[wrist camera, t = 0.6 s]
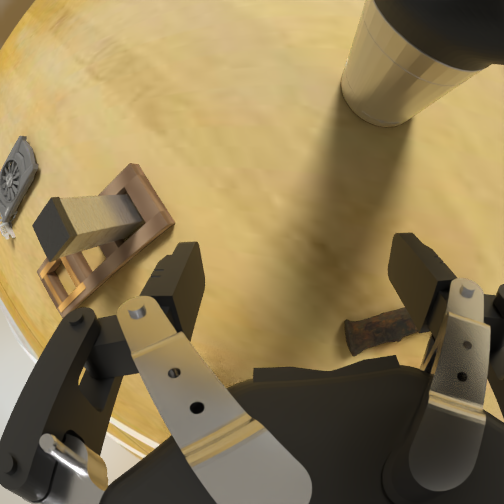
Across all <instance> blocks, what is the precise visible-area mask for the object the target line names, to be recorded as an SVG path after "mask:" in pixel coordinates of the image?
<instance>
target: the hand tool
mask: <svg viewBox="0 0 504 504" xmlns="http://www.w3.org/2000/svg"><path fill="white" fill-rule="evenodd" d="M416 332H418V330H417V328H416V326H415V324H414V322H413V321H412V319H411V317H410V315H409V313H408V311H407V310H406V308H405V307H404V308H401V309H398V310H394V311H390V312H386V313H382V314H380V315H377V316H374V317H371V318H368V319H364V320H361V321H356V322H351V321H349V320H345V335H346V342H347V344H348V347H349V350H350V352H351V354H352V356H356V355H357V354H359V353H361V352H362V351H363V350H365V349H367V348H370V347H374V346H377V345H380V344H382V343H386V342H395V341H397V342H399V341H400V340H401V339H402V338H403V337H405V336H408V335H410V334H413V333H416Z"/></svg>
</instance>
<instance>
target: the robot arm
mask: <svg viewBox="0 0 504 504" xmlns="http://www.w3.org/2000/svg"><path fill="white" fill-rule="evenodd" d="M491 64H501V65H504V0H366V1H365V5H364V8H363V11H362V15H361V18H360V21H359V25H358V28H357V31H356V34H355V37H354V41H353V44H352V47H351V50H350V53H349V56H348V59H347V62H346V65H345V68H344V71H343V74H342V79H341V88H342V93H343V96H344V99H345V100H346V102H347V104H348V106H349V107H350V108H351V109H352V110H353V112H354V113H356V114H357V115H358V116H359V117H360V118H362V119H363V120H365V121H367V122H368V123H371V124H374V125H376V126H382V127H394V126H398V125H400V124H402V123H404V122H406V121H407V120H409V119H410V118H412V117H413V116H415V115H416V114H418V113H419V112H421V111H422V110H424V109H425V108H426V107H428V106H429V105H431V104H432V103H434V102H435V101H437V100H438V99H440V98H441V97H443V96H444V95H446V94H447V93H448V92H450V91H451V90H453V89H454V88H456V87H457V86H459V85H460V84H462V83H463V82H465V81H466V80H468V79H469V78H471V77H472V76H474V75H475V74H477V73H478V72H480V71H481V70H483V69H484V68H486V67H488V66H489V65H491ZM388 276H389V280H390V282H391V283H392V285H393V287H394V288H395V290H396V292H397V294H398V295H399V297H400V299H401V301H402V302H403V304H404V306H405V308H406V310H407V311H408V313H409V315H410V317H411V319H412V321H413V322H414V324H415V326H416V328H417V330H418V332H419V333H424V332H429V331H431V333H432V334H431V337H430V339H429V341H428V345H427V348H426V351H425V354H424V358H423V361H422V364H421V366H420V369H418V368H414V367H410V366H404V365H399V362H398V360H397V357H396V355H393V356H387V357H380V358H373V359H366V360H362V361H359V362H357V363H354V364H351V365H348V366H345V367H343V368H340V369H337V370H334V371H319V370H311V369H303V368H296V367H275V368H254V372H253V379H250V380H246V381H243V382H240V383H237V384H235V385H233V386H231V387H229V388H227V389H226V388H225V387H224V386H223V384H222V383H221V382H220V381H219V379H218V378H217V377H216V376H215V374H214V373H213V372H212V371H211V369H210V368H209V367H208V365H207V364H206V363H205V362H204V360H203V359H202V358H201V356H200V355H199V354H198V352H197V351H196V350H195V348H194V347H193V346H192V344H191V343H190V341H191V337H192V333H193V330H194V326H195V322H196V318H197V315H198V311H199V307H200V304H201V300H202V297H203V293H204V289H205V275H204V269H203V264H202V259H201V253H200V248H199V244H198V242H181V243H178V245H177V247H176V248H175V250H174V252H173V254H172V255H167V256H165V257H164V258H163V259H162V260H160V261H159V262H158V264H157V266H156V267H155V269H154V271H153V272H152V274H151V277H150V278H149V280H148V281H147V283H146V285H145V287H144V288H143V290H142V292H141V294H140V296H137V297H134V298H131V299H129V300H127V301H125V302H124V303H123V304H122V305H121V306H120V307H119V308H118V310H117V315H113V316H108V317H103V318H98V319H97V317H96V315H95V313H94V311H93V310H92V309H90V308H86V307H83V308H78V309H75V310H73V311H71V312H70V313H68V314H67V315H66V316H65V317H64V318H63V319H62V321H61V322H60V324H59V326H58V327H57V329H56V330H55V332H54V334H53V335H52V337H51V339H50V340H49V342H48V344H47V345H46V347H45V349H44V351H43V352H42V354H41V356H40V358H39V360H38V361H37V363H36V365H35V367H34V369H33V371H32V372H31V374H30V376H29V378H28V380H27V382H26V384H25V386H24V388H23V390H22V392H21V394H20V396H19V398H18V400H17V403H16V405H15V407H14V409H13V411H12V413H11V416H10V418H9V420H8V423H7V425H6V428H5V430H4V432H3V435H2V437H1V440H0V484H1V485H2V486H3V487H4V488H6V489H8V490H9V491H11V492H13V493H15V494H17V495H18V496H20V497H22V498H23V499H24V500H26V501H28V502H30V503H32V504H504V423H503V422H502V421H500V420H499V419H497V418H496V417H494V416H493V415H491V414H490V413H488V412H487V411H485V410H484V409H483V403H484V397H485V391H486V383H487V379H488V381H489V383H490V385H491V388H492V390H493V392H494V395H495V397H496V399H497V402H498V404H499V407H500V410H501V412H502V415H503V417H504V284H502V285H500V287H499V289H498V291H497V294H496V296H495V295H487V294H484V293H483V290H482V288H481V287H480V286H479V285H478V284H476V283H475V282H473V281H471V280H469V279H466V278H457V277H456V276H455V275H454V273H453V272H452V271H451V270H450V269H449V268H448V266H447V265H446V264H445V263H443V261H442V260H441V258H440V257H438V255H437V254H436V253H435V252H434V251H433V250H432V249H431V248H429V247H428V246H426V245H424V244H423V243H422V242H421V241H420V240H419V239H418V238H417V237H416V236H415V235H414V234H413V233H396V234H395V235H394V237H393V241H392V247H391V253H390V259H389V264H388ZM83 367H85V368H86V371H85V373H84V375H83V378H82V380H81V382H80V385H78V380H79V376H80V374H81V371H82V369H83ZM136 373H140V375H141V378H142V380H143V382H144V384H145V386H146V388H147V390H148V392H149V394H150V396H151V398H152V400H153V402H154V404H155V406H156V407H157V409H158V411H159V413H160V415H161V417H162V419H163V420H164V422H165V424H166V426H167V427H168V429H169V431H170V433H171V434H172V435H171V436H170V437H169V438H168V439H167V440H165V441H164V442H163V443H162V444H161V445H159V446H158V447H157V448H156V449H154V450H153V451H152V452H151V453H149V454H148V455H147V456H146V457H144V458H143V459H142V460H141V461H139V462H138V463H137V464H136V465H134V466H133V467H132V468H130V469H129V470H128V471H126V472H125V473H124V474H122V475H121V476H120V477H119V478H117V479H116V480H115V481H113V482H112V483H111V484H110V485H109V486H108V477H107V467H106V464H105V462H104V461H103V459H102V458H101V457H100V454H101V450H102V446H103V442H104V439H105V435H106V431H107V428H108V424H109V421H110V417H111V414H112V410H113V407H114V404H115V401H116V397H117V394H118V391H119V388H120V385H121V382H122V379H123V376H124V375H130V374H136Z"/></svg>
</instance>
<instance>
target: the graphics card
mask: <svg viewBox="0 0 504 504" xmlns="http://www.w3.org/2000/svg"><path fill="white" fill-rule="evenodd" d="M26 138H27V137H26V136H19V138H18V140H17V141H16V143H15V145H14V147H13V148H12V150H11V152H10V154H9V156H8V158H7V160H6V161H5V163H4V165H3V167H2V169H1V171H0V214H1V217H2V219H0V221H2V222H3V223H2V224H0V231H1V233H2V236H4V237H5V238H6V239H10V238H9V234H10V235H11V236H12V238H14V237H15V234H14V232H13V229H12V222H11V220H10V218H11V216H12V215H14V216H13V219H14V218H15V215H16V214H17V208H18V206H19V204H20V202H21V200H22V199H23V197H24V195H25V193H26V191H27V190H28V188H29V186H30V185H31V183H32V181H33V180H34V179H33V178H34V175H35V173H36V172H37V170H38V164H36V163H35V158H34V153H33V149H32V148H31V146H30V145H29V144H28V142H27V141H26ZM11 162H12V163H11ZM10 164H11V165H10ZM8 167H9V169H8ZM14 213H15V214H14ZM13 219H12V221H13ZM3 226H4V227H3ZM1 227H3V228H4V229H6V230H7V231H6V230H4V229H2V228H1ZM5 227H6V228H5ZM2 230H4V231H6V232H7V233H5V232H4V231H2ZM3 232H4V233H5V234H4V233H3Z"/></svg>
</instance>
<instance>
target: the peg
mask: <svg viewBox="0 0 504 504" xmlns="http://www.w3.org/2000/svg"><path fill="white" fill-rule="evenodd" d="M143 223H145V221H144V219H143V217H142V216H141V214H140V212H139V211H138V209H137V208H136V206H135V204H134V203H133V201H132V199H131V198H130V196H129V194H125V195H104V196H87V197H72V198H59V197H52V198H51V199H50V200H49V202H48V203H47V204H46V206H45V207H44V209H43V210H42V212H41V213H40V215H39V216H38V218H37V219H36V221H35V222H34V224H33V225H32V226H33V228H34V231H35V233H36V235H37V237H38V240H39V242H40V244H41V246H42V248H43V250H44V252H45V254H46V256H47V258H48V260H49V262H53V261H56V260H57V259H58V258H61V257H64V256H67V255H70V254H74V253H77V252H80V251H83V250H87V249H90V248H93V247H97V246H100V245H103V244H107V243H110V242H114V241H117V240H121V239H124V238H128V237H129V236H130V235H131V234H132V233H133V232H134V231H135V230H137V229H138V228H139V227H140V226H141V225H142V224H143Z"/></svg>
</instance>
